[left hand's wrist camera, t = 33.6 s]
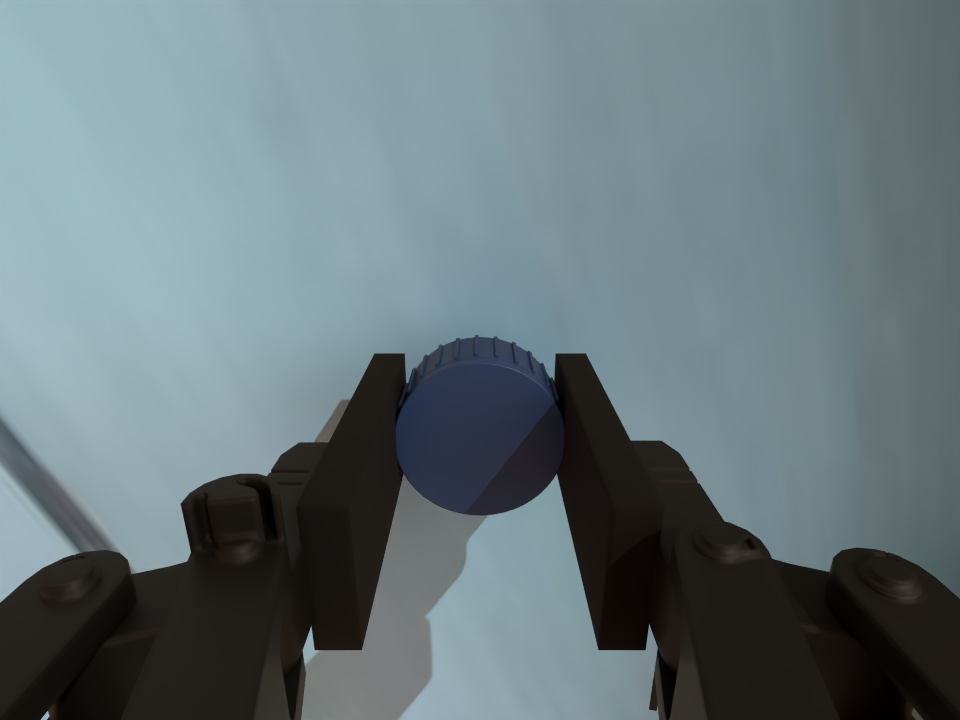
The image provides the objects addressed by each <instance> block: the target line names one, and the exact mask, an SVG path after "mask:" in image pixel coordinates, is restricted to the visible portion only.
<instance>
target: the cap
mask: <svg viewBox="0 0 960 720" xmlns="http://www.w3.org/2000/svg"><path fill="white" fill-rule="evenodd" d="M559 402H560V400H559V396H558V393H557V390H556V387H555V384H554V381H553V378H549V376H548V374H547V372H546V370H545V366H544V364H543V363H541V364H540V363H539V362H538V361H537V360H536V359H535V358H534V357H533V356H532V353H531V352H530V351H528V352H527V351H525V350H523V349H522V348H520V347H518V346H516V343H515V342H512V343H509V342H506V341H503V340H499V339H498V337H495V336H494V338H485V337H478V335H475V338H466V339H461V340H460V338H456V341H454V342H451V343H449V344H446V345H444V346H442V344H441V345H439V347H438V349H437V350H435V351H434V352H433V353H431V354H430V355H429V356H427V355H425V356H424V358H423V361H422V362H421V363H420V365H419V366H418V367H417V368H413V370H412V373H411V376H410V380H409V383H406V384H405V386H404V390H403V393H402V396H401V399H400V402H399V405H398V408H399V409H400V411H399V414H398V418H397V421H396V446H397V459H398V463H399V465H400V467H401V469H402V471H403V473H404V475H405V476H406V478H407V479H408V481H409V482H410V484H411V485H412V486H413V487H414V488H415V489H416V490H417V491H418V492H419V493H420V494H421V495H422V496H424V497H425V498H427V499H428V500H429V501H431V502H432V503H434V504H436V505H438V506H440V507H442V508H445V509H448V510H450V511H454V512H457V513H461V514H468V515H493V514H498V513H503V512H507V511H510V510H513V509H515V508H518V507H520V506H522V505H524V504H526V503H528V502H529V501H531V500H532V499H534V498H535V497H536V496H538V495H539V494H540V493H541V492H542V491H543V490H544V489H545V488H546V487H547V486H548V485H549V484H550V482H551V481H552V480H553V479H554V477H555V475H556V474H557V472H558V470H559V468H560V466H561V463H562V461H563V452H564V435H565V424H564V420H563V416H562V413H561V410H560V407H559Z"/></svg>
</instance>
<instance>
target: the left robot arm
mask: <svg viewBox="0 0 960 720" xmlns="http://www.w3.org/2000/svg"><path fill="white" fill-rule="evenodd" d="M405 384H406V372H405V354H374V356H373V358H372V360H371V362H370V364H369V366H368V368H367V369H366V371H365V373H364V375H363V377H362V379H361V381H360V383H359V385H358V387H357V389H356V391H355V393H354V395H353V397H352V399H351V400H350V402H349V404H348V406H347V408H346V410H345V412H344V414H343V416H342V418H341V420H340V422H339V424H338V426H337V428H336V430H335V432H334V433H333V435H332V437H331V439H330V441H329V443H298V444H296V445H295V446H293V447H292V448H291V449H289V450H288V451H286V452H285V453H283V454H282V455H281V456H280V457H279V459H278V460H277V462H276V464H275V465H274V467H273V468H272V470H271V473H269V474H268V476H263V475H260V474H237V475H232V476H226V477H221V478H219V479H216V480H213V481H211V482H208V483H206V484H203V485H202V486H200V487H199V488H197V489H196V490H194V491H192V492H191V493H189V495H188V496H187V497H186V498H185V499H184V500H183V502H182V503H181V507H182V512H183V517H184V521H185V526H186V530H187V535H188V540H189V544H190V549H191V554H190V556H189V559H188V561H187V562H184V563H181V564H177V565H173V566H169V567H165V568H160V569H155V570H151V571H146V572H141V573H136V574H131V570H130V567H129V563H128V560H127V559H126V558H125V557H124V556H122V555H121V554H120V553H117V552H112V551H107V550H101V551H90V552H83V553H79V554H76V555H71V556H68V557H65V558H63V559H61V560H59V561H57V562H55V563H53V564H51V565H48V566H46V567H44V568H42V569H41V570H40V571H38V572H37V573H35V574H34V575H33V576H31V577H30V578H28V579H27V580H25V581H24V582H23V583H22V584H21V585H20V586H19V587H18V588H16V589H15V590H14V591H13V592H12V593H11V594H10V595H9V596H7V597H6V598H5V599H4V600H3V601H2V602H1V603H0V720H41V718H42V717H43V716H44V715H45V714H46V712H47V711H48V712H49V715H50V717H49V718H48V719H47V720H301V714H302V705H303V695H304V686H305V676H306V672H305V665H304V658H303V651H302V650H303V648H304V645H305V642H306V639H307V636H308V633H309V631H310V628H311V625H312V633H313V640H314V648H315V650H362V647H363V643H364V639H365V634H366V630H367V626H368V622H369V617H370V613H371V609H372V605H373V601H374V596H375V592H376V588H377V584H378V579H379V575H380V571H381V567H382V562H383V558H384V554H385V550H386V545H387V541H388V537H389V533H390V528H391V524H392V520H393V516H394V511H395V507H396V503H397V499H398V495H399V490H400V486H401V482H402V478H403V471H402V469H401V467H400V465H399V463H398V459H397V446H396V421H397V418H398V414H399V411H400V409H399V408H398V405H399V402H400V399H401V396H402V393H403V390H404V386H405ZM554 384H555V387H556V390H557V393H558V396H559V400H560V402H559V407H560V410H561V413H562V416H563V420H564V424H565V435H564V452H563V461H562V463H561V466H560V468H559V470H558V472H557V476H558V480H559V485H560V489H561V493H562V497H563V501H564V506H565V510H566V514H567V518H568V523H569V527H570V531H571V535H572V540H573V544H574V548H575V552H576V557H577V561H578V565H579V569H580V574H581V578H582V582H583V586H584V590H585V595H586V599H587V603H588V607H589V612H590V616H591V620H592V624H593V629H594V633H595V637H596V641H597V646H598V650H646V643H647V635H648V628H649V624H650V627H651V630H652V632H653V635H654V638H655V641H656V644H657V646H658V651H657V658H656V665H655V672H654V679H653V686H652V693H651V700H650V707H649V710H655V711H657V705H658V713H659V720H916V719H915V718H914V717H913V715H912V711H913V708H914V709H915V710H916V711H917V713H918V714H919V715H920V716H921V717H922V719H923V720H960V599H959V598H958V597H957V596H956V595H955V594H954V593H952V592H951V591H950V590H949V589H948V588H947V587H946V586H945V585H943V584H942V583H941V582H940V581H939V580H938V579H937V578H935V577H934V576H932V575H931V574H930V573H928V572H927V571H925V570H924V569H923V568H921V567H920V566H918V565H916V564H914V563H912V562H910V561H908V560H905V559H903V558H901V557H900V556H897V555H894V554H891V553H886V552H885V551H880V550H876V549H865V548H852V549H847V550H842V551H840V552H839V553H838V554H837V555H836V556H835V557H834V558H833V561H832V565H831V568H830V572H826V571H821V570H817V569H812V568H807V567H802V566H798V565H793V564H789V563H785V562H781V561H778V560H774V559H772V558H771V556H770V553H769V551H768V550H767V548H766V547H765V546H764V544H763V543H762V541H761V540H760V539H758V538H757V537H756V536H754V535H753V534H751V533H750V532H749V531H747V530H745V529H743V528H741V527H738V526H736V525H734V524H732V523H729V522H724V520H723V519H722V517H721V516H720V514H719V512H718V511H717V509H716V508H715V506H714V505H713V503H712V502H711V500H710V499H709V497H708V496H707V494H706V493H705V491H704V490H703V488H702V487H701V485H700V484H699V483H697V479H696V477H695V476H694V474H693V473H692V471H689V467H688V465H687V464H686V462H685V461H684V459H683V458H682V456H681V455H680V453H678V452H677V451H676V450H674V449H673V448H671V447H670V446H668V445H667V444H665V443H664V442H662V441H631V440H630V438H629V437H628V435H627V433H626V431H625V429H624V427H623V425H622V423H621V421H620V419H619V417H618V415H617V413H616V411H615V409H614V407H613V406H612V404H611V402H610V400H609V398H608V396H607V394H606V392H605V390H604V388H603V386H602V384H601V382H600V380H599V378H598V376H597V375H596V373H595V371H594V369H593V367H592V365H591V363H590V361H589V359H588V357H587V355H586V354H556V359H555V379H554Z"/></svg>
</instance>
